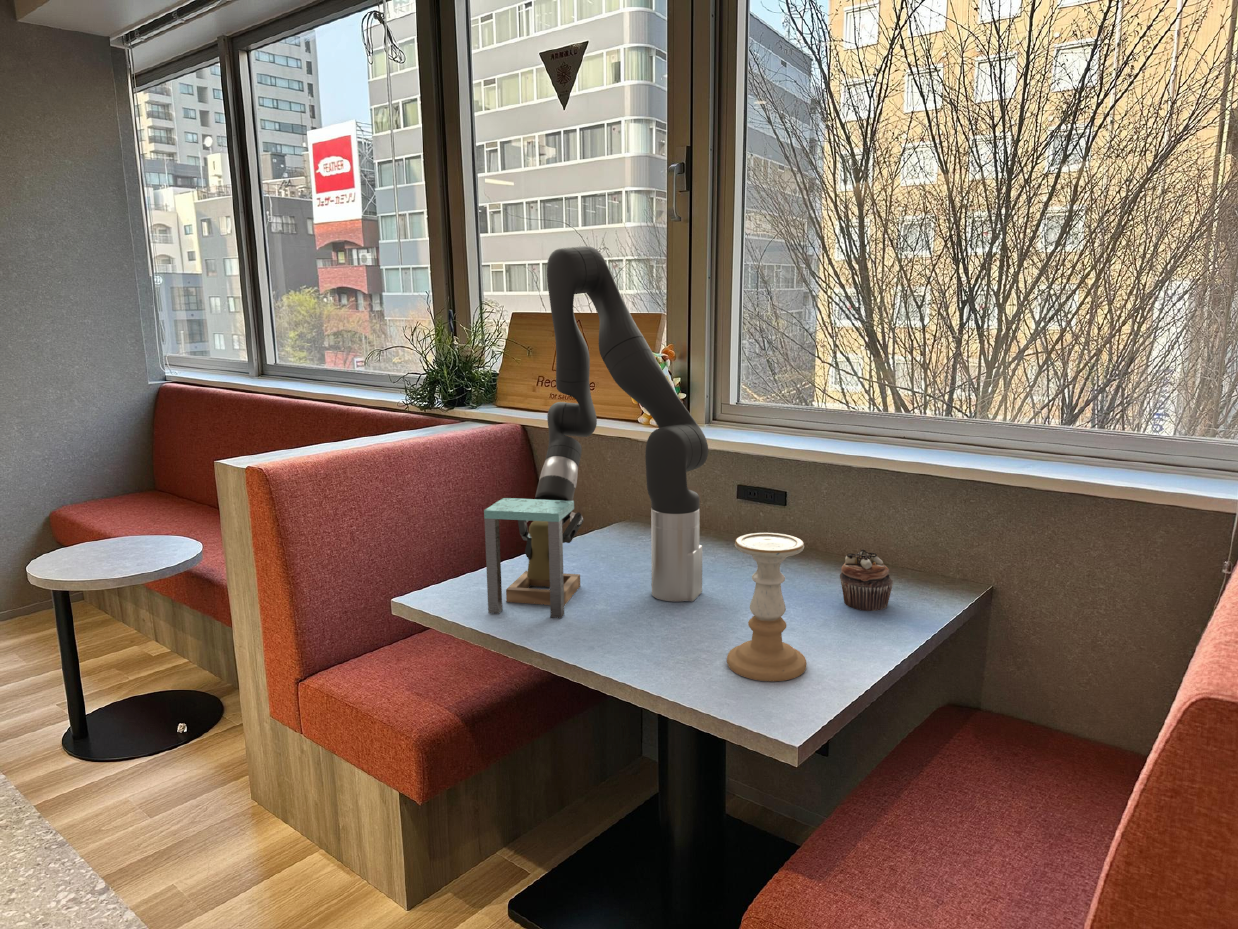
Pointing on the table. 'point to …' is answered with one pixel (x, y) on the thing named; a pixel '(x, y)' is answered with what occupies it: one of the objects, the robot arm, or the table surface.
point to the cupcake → (865, 582)
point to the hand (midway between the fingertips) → (540, 558)
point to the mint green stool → (554, 515)
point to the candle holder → (767, 612)
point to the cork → (539, 551)
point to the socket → (524, 594)
